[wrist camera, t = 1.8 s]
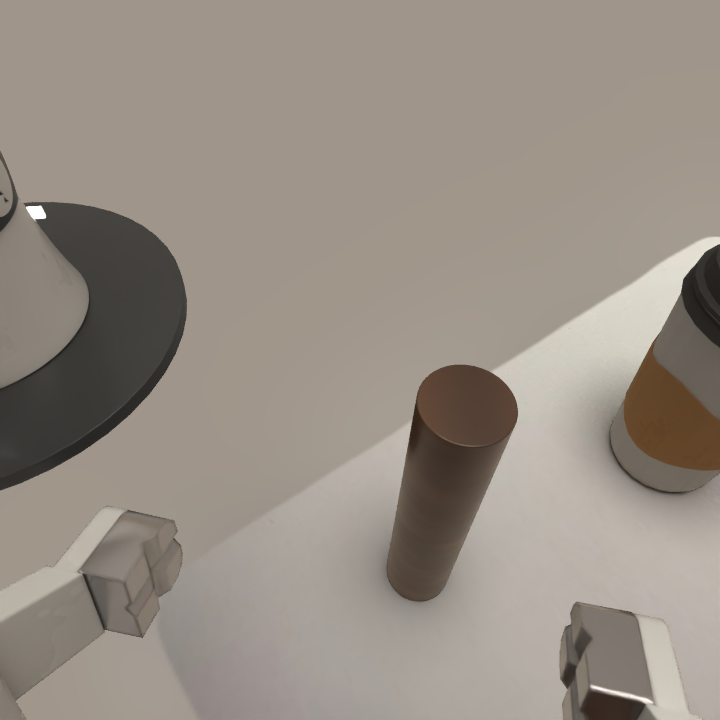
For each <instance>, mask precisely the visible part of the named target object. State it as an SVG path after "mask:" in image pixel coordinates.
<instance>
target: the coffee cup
mask: <svg viewBox="0 0 720 720" xmlns="http://www.w3.org/2000/svg"><path fill="white" fill-rule="evenodd" d="M610 435H611V443H612V449H613V451H614V454H615V456H616V458H617V460H618V461H619V463H620V464H621V466H622V467H623V468H624V469H625V470H626V471H627V472H628V473H629V474H630V475H631V476H632V477H633V478H635V479H637V480H638V481H640V482H641V483H643V484H644V485H647V486H649V487H652V488H654V489H657V490H661V491H667V492H683V491H691V490H694V489H697V488H700V487H702V486H703V485H704V484H706V483H707V482H708V481H710V480H711V479H712V478H714V477H715V476H716V475H718V474H719V473H720V244H719V245H717V246H715V247H713V248H712V249H710V250H708V251H706V252H705V253H704V254H703V256H702V257H701V258H700V260H699V261H698V262H697V264H696V265H695V266H694V267H693V268H692V269H691V270H690V271H689V273H688V274H687V275H686V277H685V278H684V280H683V285H682V290H681V294H680V296H679V298H678V300H677V302H676V304H675V305H674V307H673V309H672V311H671V313H670V315H669V317H668V319H667V320H666V322H665V324H664V326H663V328H662V330H661V332H660V333H659V335H658V336H657V337H656V339H655V340H654V341H653V343H652V345H651V347H650V349H649V351H648V352H647V354H646V356H645V358H644V360H643V362H642V364H641V366H640V368H639V370H638V371H637V373H636V375H635V377H634V379H633V381H632V383H631V385H630V387H629V389H628V391H627V393H626V397H625V399H624V401H623V403H622V405H621V407H620V409H619V411H618V413H617V414H616V416H615V418H614V420H613V422H612V426H611V430H610Z"/></svg>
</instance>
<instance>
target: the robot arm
mask: <svg viewBox="0 0 720 720" xmlns="http://www.w3.org/2000/svg"><path fill="white" fill-rule="evenodd" d="M45 217H46V215H45V213H44V211H43V209H42V207H41V206H33V207H25V205H24V204H23V202H22V201H21V199H20V198H19V196H18V194H17V193H16V190H15V187H14V184H13V181H12V178H11V175H10V173H9V170H8V168H7V165H6V163H5V160H4V158H3V156H2V153H1V152H0V389H1V388H3V387H6V386H8V385H10V384H12V383H14V382H16V381H18V380H20V379H22V378H24V377H26V376H28V375H29V374H31V373H33V372H34V371H36V370H38V369H39V368H40V367H42V366H43V365H45V364H46V363H47V362H49V361H50V360H51V359H53V358H54V357H55V356H56V355H57V354H58V353H59V352H60V351H61V350H62V349H64V348H65V346H66V345H67V344H68V343H69V342H70V341H71V340H72V338H73V337H74V336H75V334H76V333H77V332H78V330H79V328H80V327H81V325H82V323H83V321H84V319H85V316H86V313H87V310H88V305H89V291H88V287H87V284H86V281H85V280H84V278H83V276H82V275H81V274H80V272H79V271H78V270H77V269H76V268H75V267H74V266H73V265H72V264H71V263H70V262H69V261H68V260H67V259H66V258H65V257H64V256H63V255H62V254H61V253H60V251H59V250H58V249H57V248H56V247H55V246H54V244H53V243H52V242H51V241H50V239H49V238H48V237H47V235H46V234H45V233H44V232H43V230H42V229H41V228H40V226H39V225H38V223H37V222H36V221H35V219H41V218H45ZM176 533H177V527H176V524H175V521H174V520H169V519H165V518H161V517H156V516H152V515H148V514H143V513H139V512H134V511H130V510H126V509H120V508H116V507H112V506H106V507H104V508H103V509H101V510H100V511H99V512H98V513H97V514H96V515H95V516H94V518H93V519H92V520H91V521H90V523H89V524H88V525H87V526H86V527H85V529H84V530H83V531H82V532H81V533H80V535H79V536H78V537H77V538H76V540H75V541H74V542H73V543H72V544H71V546H70V547H69V548H68V549H67V551H66V552H65V553H64V554H63V555H62V557H61V558H60V559H59V560H58V561H57V563H56V564H55V565H54V566H53V567H51V566H45V567H43V568H42V569H40V570H38V571H36V572H34V573H32V574H30V575H28V576H27V577H25V578H23V579H21V580H19V581H17V582H15V583H13V584H12V585H10V586H8V587H6V588H4V589H2V590H0V720H26V718H25V716H24V714H23V713H22V711H21V709H20V708H19V706H18V705H17V703H16V700H17V699H18V698H19V697H21V696H22V695H23V694H25V693H26V692H27V691H28V690H30V689H31V688H32V687H34V686H35V685H36V684H38V683H39V682H40V681H42V680H43V679H44V678H45V677H47V676H48V675H49V674H51V673H52V672H53V671H55V670H56V669H57V668H59V667H60V666H61V665H63V664H64V663H65V662H66V661H68V660H69V659H70V658H72V657H73V656H74V655H76V654H77V653H78V652H79V651H81V650H82V649H83V648H85V647H86V646H87V645H89V644H90V643H91V642H93V641H94V640H95V639H97V638H98V637H99V636H100V635H102V634H103V633H104V632H105V631H104V630H109V631H113V632H118V633H123V634H128V635H132V636H136V637H141V638H143V636H144V635H145V633H146V631H147V629H148V628H149V626H150V624H151V623H152V621H153V619H154V618H155V616H156V614H157V612H158V611H159V609H160V607H159V597H160V596H162V595H163V594H165V593H167V592H168V591H170V590H171V588H172V587H173V585H174V583H175V581H176V579H177V578H178V575H179V571H180V568H181V565H182V554H183V553H182V549H181V545H180V544H179V543H178V542H177V541H176V540H175V539H174V536H175V535H176ZM570 614H571V625H568V626H566V627H565V629H564V632H563V635H562V639H561V646H560V679H561V681H562V682H563V684H564V685H565V686H566V688H567V689H568V690H567V693H566V695H565V698H564V700H563V703H562V709H563V720H703V719H702V718H701V717H700V716H698V715H694V714H691V713H690V710H689V706H688V702H687V698H686V694H685V691H684V687H683V683H682V679H681V675H680V671H679V667H678V663H677V659H676V656H675V652H674V648H673V644H672V640H671V636H670V632H669V628H668V625H667V624H666V622H665V621H664V620H663V619H660V618H655V617H650V616H645V615H639V614H634V613H632V612H628V611H623V610H618V609H613V608H607V607H602V606H597V605H591V604H586V603H581V602H576V603H575V604H574V605H573V608H572V610H571V613H570Z"/></svg>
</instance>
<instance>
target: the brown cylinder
mask: <svg viewBox="0 0 720 720" xmlns="http://www.w3.org/2000/svg"><path fill="white" fill-rule="evenodd" d="M517 417H518V408H517V403H516V400H515V397H514V395H513V393H512V392H511V390H510V389H509V387H508V386H507V385H506V384H505V383H504V382H503V381H502V380H501V379H500V378H499V377H497V376H496V375H494V374H493V373H491V372H489V371H487V370H484V369H482V368H478V367H475V366H470V365H451V366H446V367H443V368H440V369H438V370H436V371H434V372H433V373H431V374H430V375H429V376H428V377H426V378H425V380H424V381H423V382H422V384H421V385H420V387H419V390H418V393H417V399H416V404H415V409H414V415H413V421H412V426H411V432H410V438H409V443H408V449H407V454H406V460H405V466H404V471H403V477H402V482H401V488H400V494H399V499H398V505H397V511H396V516H395V522H394V527H393V533H392V539H391V544H390V550H389V555H388V561H387V575H388V578H389V581H390V583H391V585H392V586H393V588H394V589H395V590H396V591H397V592H398V593H399V594H400V595H402V596H403V597H405V598H407V599H410V600H414V601H425V600H429V599H432V598H434V597H435V596H437V595H438V594H439V593H440V592H441V591H442V590H443V588H444V586H445V584H446V582H447V580H448V578H449V575H450V573H451V571H452V568H453V566H454V564H455V562H456V559H457V557H458V555H459V552H460V550H461V548H462V546H463V543H464V541H465V539H466V536H467V534H468V532H469V530H470V527H471V525H472V523H473V520H474V518H475V516H476V514H477V511H478V509H479V507H480V504H481V502H482V500H483V498H484V495H485V493H486V491H487V488H488V486H489V484H490V482H491V479H492V477H493V475H494V472H495V470H496V468H497V466H498V463H499V461H500V459H501V456H502V454H503V452H504V450H505V447H506V445H507V443H508V440H509V438H510V436H511V434H512V431H513V429H514V427H515V424H516V422H517Z"/></svg>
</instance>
